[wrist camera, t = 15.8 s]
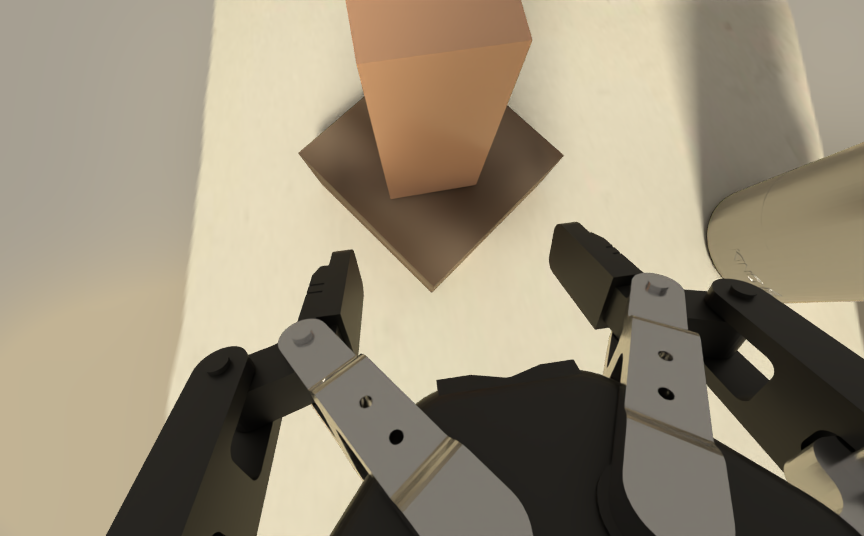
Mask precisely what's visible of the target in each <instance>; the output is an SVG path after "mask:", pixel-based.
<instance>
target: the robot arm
mask: <svg viewBox="0 0 864 536" xmlns="http://www.w3.org/2000/svg"><path fill="white" fill-rule="evenodd" d="M707 239H708V248H709V251H710V255H711V258H712V260H713V262H714V264H715V266H716V268H717V270H718V271H719V273H720V274H721V275H722V277H723V278H724V279H718V280H716V281H714V282H713V283H712V285H711V287H710V288H709V290H708V291H695V290H684V289H683V288H682V286H681V285H680V284H678V283H677V282H676V281H674V280H672V279H670V278H668V277H666V276H663V275H659V274H654V273H643V272H642V271H641V270H640V269H639V268H637V267H636V266H635V265H634V264H633V263H632V262H631V261H629V260H628V259H627V258H626V257H625V256H624V255H623V254H620V252H619V251H618V250H617V249H616V248H615V247H613V246H612V245H611V244H610V243H609V242H608V241H607V240H605V239H604V238H602V237H600V236H598V235H596V234H594V233H592V232H589V231H588V230H586V229H585V228H584V227H583V226H582V225H581V224H580V223H578V222H571V223H563V224H557V225H556V227H555V229H554V234H553V239H552V245H551V250H550V255H549V264H550V268H551V270H552V272H553V274H554V275H555V276H556V278H557V279H558V280H559V282H560V283H561V284H562V286H563V287H564V288H565V290H566V291H567V292H568V294H569V295H570V296H571V298H572V299H573V301H574V302H575V303H576V305H577V306H578V307H579V309H580V310H581V311H582V313H583V314H584V315H585V317H586V318H587V319H588V321H589V322H590V324H591V325H592V326H593V328H594V329H602V328H610V329H611V333H610V336H609V340H608V346H607V352H606V358H605V365H604V371H603V375H600V374H596V373H593V372H588V371H583V370H579V368H578V366H577V365H576V363H575V361H574V360H566V361H560V362H553V363H546V364H540V365H538V366H535V367H533V368H531V369H528V370H526V371H524V372H521V373H519V374H517V375H515V376H512V377H508V378H503V377H491V376H478V375H467V376H460V377H454V378H447V379H441V380H436V381H437V390H438V391H436V392H434V393H432V394H430V395H428V396H426V397H425V398H423V399H422V400H420V401H419V402H418V403H416V404H415V403H414V402H412V401H411V400H410V399H409V398H408V397H407V396H406V395H405V394H404V393H403V392H402V391H401V390H400V389H399V388H398V387H397V386H396V385H395V384H394V383H393V382H392V381H391V380H390V379H389V378H388V377H387V376H386V375H385V374H384V373H383V372H382V371H381V370H380V369H379V368H378V367H377V366H376V365H375V364H374V363H373V362H372V361H371V360H370V359H369V358H368V357H367V356H365V355H364V354H360V355H359V356H358V352H359V341H360V330H361V319H362V308H363V297H364V292H363V284H362V279H361V276H360V272H359V268H358V264H357V260H356V257H355V253H354V251H353V250H344V251H336V252H333V253H332V256H331V260H330V264H329V265H328V266H321V267H320V268H319V269H318V270H317V271H316V272H315V273H314V274H313V275H312V278H311V281H310V284H309V286H310V287H308V291H307V295H306V297H305V300H304V303H303V306H302V309H301V312H300V315H299V318H298V322H296V323H294V324H293V325H291V326H289V327H288V328H287V329H286V330H285V331H284V332H283V333H282V334H281V336H280V338H279V341H278V343H277V344H275V345H273V346H271V347H268V348H266V349H263V350H260V351H258V352H255V353H252V354H250V355H248V354H247V352H246V351H245V349H243V348H241V347H237V346H231V347H226V348H222V349H220V350H217V351H215V352H213V353H211V354H210V355H208V356H207V357H205V358H204V359H203V360H202V361H201V362H200V363H199V364H198V365H197V366H196V367H195V368H194V370H193V372H192V373H191V375H190V377H189V379H188V381H187V383H186V385H185V387H184V389H183V391H182V392H181V394H180V396H179V398H178V400H177V402H176V404H175V406H174V408H173V409H172V411H171V413H170V415H169V417H168V419H167V421H166V423H165V425H164V426H163V428H162V430H161V432H160V434H159V436H158V438H157V440H156V442H155V444H154V446H153V447H152V449H151V451H150V453H149V455H148V457H147V459H146V461H145V462H144V464H143V467H142V468H141V470H140V472H139V474H138V476H137V478H136V480H135V481H134V483H133V485H132V487H131V489H130V491H129V493H128V495H127V497H126V498H125V500H124V502H123V504H122V506H121V508H120V510H119V512H118V514H117V516H116V517H115V519H114V521H113V523H112V525H111V527H110V529H109V531H108V533H107V534H106V536H257V531H258V526H259V522H260V517H261V513H262V508H263V504H264V499H265V494H266V490H267V485H268V481H269V476H270V471H271V467H272V462H273V458H274V453H275V449H276V444H277V439H278V435H279V430H280V426H281V421H282V417H284V416H286V415H288V414H290V413H293V412H295V411H297V410H299V409H301V408H304V407H306V406H308V405H310V404H311V406H312V407H313V409H314V410H315V411H316V413H317V414H318V416H319V417H320V419H321V420H322V422H323V423H324V424H325V426H326V427H327V429H328V430H329V432H330V433H331V434H332V436H333V437H334V439H335V440H336V442H337V443H338V445H339V446H340V448H341V449H342V451H343V452H344V454H345V456H346V457H347V459H348V460H349V462H350V464H351V465H352V467H353V468H354V470H355V471H356V472H357V474H358V475H359V477H360V478H361V480H362V481H363V483H362V485H361V486H360V488H359V489H358V491H357V493H356V494H355V496H354V497H353V499H352V501H351V502H350V504H349V505H348V507H347V509H346V510H345V512H344V513H343V515H342V517H341V518H340V520H339V521H338V523H337V525H336V526H335V528H334V529H333V531H332V533H331V534H330V536H864V359H863V358H861V357H860V356H859V355H857V354H856V353H854V352H853V351H851V350H850V349H848V348H847V347H846V346H844V345H843V344H841V343H840V342H838V341H837V340H835V339H834V338H833V337H831V336H830V335H828V334H827V333H825V332H824V331H822V330H821V329H819V328H818V327H817V326H815V325H814V324H812V323H811V322H809V321H808V320H806V319H805V318H804V317H802V316H801V315H799V314H798V313H796V312H795V311H793V310H792V309H791V308H789V307H788V306H786V305H785V304H783V303H811V302H842V301H843V302H850V301H864V142H862V143H860V144H858V145H855V146H853V147H850V148H848V149H845V150H842V151H840V152H837V153H835V154H832V155H830V156H827V157H824V158H822V159H819V160H817V161H814V162H812V163H809V164H807V165H804V166H802V167H799V168H796V169H793V170H791V171H788V172H786V173H783V174H781V175H778V176H776V177H773V178H771V179H768V180H766V181H763V182H761V183H758V184H756V185H753V186H751V187H748V188H746V189H743V190H741V191H738V192H736V193H734V194H732V195H730V196H728V197H726V198H725V199H724V200H723V201H722V202H720V203H719V205H718V206H717V207H716V209H715V210H714V211H713V213H712V216H711V218H710V221H709V225H708V232H707ZM746 339H747V340H748V341H749V342H750V343H751V344H752V345H753V346H755V347H756V348H757V349H758V350H759V351H760V352H762V353H763V354H764V355H765V356H766V357H767V358H768V359H769V360H770V361H771V363H772V364H773V367H774V376H773V377H772V378H771V379H770V380H768V379H767V378H766V377H765V376H764V375H763V374H762V373H761V372H760V371H759V370H758V369H757V368H755V367H754V366H753V365H752V364H751V363H750V362H749V361H748V360H747V359H746V358H745V357H744V356H743V355H742V354H740V353H739V352H738V351H737V350H738V349H739V347H740V346H741V345H742V344H743V342H744V341H745V340H746ZM706 384H707V386H708V387H709V388H710V389H711V390H712V391H713V392H714V394H715V395H716V396H717V397H718V398H719V399H720V400H721V402H722V403H723V404H724V405H725V406H726V407H727V408H728V409H729V411H730V412H731V413H732V414H733V415H734V416H735V417H736V419H737V420H738V421H739V422H740V423H741V424H742V425H743V427H744V428H745V429H746V430H747V431H748V432H749V433H750V435H751V436H752V437H753V438H754V439H755V440H756V441H757V443H758V444H759V445H760V446H761V447H762V448H763V449H764V451H765V452H766V453H767V454H768V455H769V456H770V457H771V459H772V460H773V461H774V462H775V463H776V464H777V465H778V467H779V468H780V469H781V470H782V471H783V472H784V475H785V478H786V480H787V481H785V480H784V479H782V478H780V477H779V476H777V475H775V474H773V473H772V472H770V471H768V470H767V469H765V468H763V467H762V466H760V465H758V464H757V463H755V462H753V461H751V460H750V459H748V458H746V457H745V456H743V455H741V454H740V453H738V452H736V451H734V450H733V449H731V448H729V447H728V446H726V445H724V444H723V443H721V442H719V441H718V440H716V439H714V438H713V434H712V426H711V418H710V410H709V402H708V394H707V386H706Z"/></svg>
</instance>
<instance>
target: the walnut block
mask: <svg viewBox="0 0 864 536" xmlns="http://www.w3.org/2000/svg"><path fill="white" fill-rule="evenodd" d="M299 155H300V156H301V157H302V159H303V160H304V161H305V163H306V164H307V165H308V167H309V168H310V169H311V171H312V172H313V173H314V175H315V176H316V177H317V178H318V180H319V181H320V182H321V184H322V185H323V186H324V187H325V188H326V189H327V190H328V191H329V192H330V193H331V194H332V195H333V196H334V197H335V198H336V199H337V200H338V201H339V202H340V203H341V204H342V205H343V206H344V207H346V208H347V209H348V210H349V211H350V212H351V213H352V214H353V215H354V216H355V217H356V218H357V219H358V220H359V221H360V222H361V223H362V224H363V225H364V226H365V227H366V228H367V229H368V230H369V231H370V232H371V233H372V234H373V235H374V236H375V237H376V238H377V239H378V240H379V241H380V242H381V243H382V244H383V245H384V246H385V247H386V248H387V249H388V250H389V251H390V252H391V253H392V254H393V255H394V256H395V257H396V258H397V259H398V260H399V261H400V262H401V263H402V264H403V265H404V266H405V267H406V268H407V269H408V270H409V271H410V272H411V273H412V274H413V275H414V276H415V277H416V278H417V279H418V280H419V281H420V282H421V283H422V284H423V285H424V286H425V287H426V288H427V289H428V290H429V291H430V292H431V293H432V292H433V291H434V290H435V289H436V288H437V287H438V286H439V285H440V284H441V283H442V282H443V281H444V280H445V279H446V278H447V277H448V276H449V275H450V274H451V273H452V272H453V271H454V270H455V269H456V268H457V267H458V266H459V265H460V264H461V263H462V262H463V261H464V260H465V259H466V258H467V256H468V255H469V254H470V253H471V252H472V251H473V250H474V249H475V248H476V247H477V246H478V245H479V244H480V243H481V242H482V241H483V240H484V239H485V238H486V237H487V236H488V235H489V234H490V233H491V232H492V231H493V230H494V229H495V228H496V227H497V226H498V225H499V224H500V223H501V222H502V221H503V220H504V219H505V218H506V217H507V216H508V215H509V214H510V213H511V212H512V211H513V210H514V209H515V208H516V207H517V206H518V205H519V204H520V203H521V202H522V201H523V200H524V199H525V198H526V197H527V196H528V195H529V194H530V193H531V192H532V191H533V190H534V189H535V188H536V187H537V186H538V184H539V183H540V182H541V181H542V180H543V179H544V178H545V176H546V175H547V174H548V173H549V172H550V171H551V170H552V168H553V167H554V166H555V165H556V164H557V163H558V162H559V160H560V159H561V158H562V157H563V156H564V155H563V154H562V153H560V152H559V151H558V150H557V149H556V148H555V147H554V146H552V145H551V144H550V143H549V142H548V141H547V140H546V139H545V138H543V137H542V136H541V135H540V134H539V133H538V132H537V131H536V130H534V129H533V128H532V127H531V126H530V125H529V124H528V123H526V122H525V121H524V120H523V119H522V118H521V117H520V116H519V115H517V114H516V113H515V112H514V111H513V110H512V109H511V108H510V107H508V106H506V109H505V112H504V114H503V117H502V119H501V122H500V124H499V127H498V130H497V132H496V135H495V137H494V140H493V142H492V145H491V147H490V150H489V153H488V155H487V158H486V160H485V163H484V165H483V168H482V171H481V173H480V176H479V178H478V181H477V183H476V185H473V186H467V187H461V188H455V189H449V190H443V191H437V192H431V193H425V194H419V195H413V196H407V197H401V198H395V199H390V195H389V191H388V187H387V183H386V179H385V175H384V171H383V167H382V163H381V159H380V155H379V151H378V147H377V143H376V139H375V135H374V131H373V127H372V123H371V119H370V116H369V112H368V108H367V104H366V100H365V96H364V97H363V98H362V99H361V100H360V101H359V102H357V103H356V104H355V105H354V106H353V107H352V108H350V109H349V110H348V111H347V112H346V113H345V114H343V115H342V116H341V117H340V118H339V119H338V120H336V121H335V122H334V123H333V124H332V125H331V126H329V127H328V128H327V129H326V130H325V131H324V132H322V133H321V134H320V135H319V136H318V137H317V138H315V139H314V140H313V141H312V142H311V143H310V144H308V145H307V146H306V147H305V148H304V149H303V150H301V151H300V152H299Z"/></svg>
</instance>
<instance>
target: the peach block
mask: <svg viewBox="0 0 864 536" xmlns="http://www.w3.org/2000/svg"><path fill="white" fill-rule="evenodd" d="M346 5H347V11H348V17H349V23H350V29H351V35H352V40H353V46H354V52H355V58H356V64H357V68H358V72H359V76H360V80H361V84H362V88H363V92H364V96H365V100H366V104H367V108H368V112H369V116H370V119H371V123H372V127H373V131H374V135H375V139H376V143H377V147H378V151H379V155H380V159H381V163H382V167H383V171H384V175H385V179H386V183H387V187H388V191H389V195H390V199H395V198H401V197H407V196H413V195H419V194H425V193H431V192H437V191H443V190H449V189H455V188H461V187H467V186H473V185H476V183H477V181H478V178H479V176H480V173H481V171H482V168H483V165H484V163H485V160H486V158H487V155H488V153H489V150H490V147H491V145H492V142H493V140H494V137H495V135H496V132H497V130H498V127H499V124H500V122H501V119H502V117H503V114H504V112H505V109H506V106H507V104H508V101H509V99H510V96H511V94H512V91H513V89H514V86H515V83H516V81H517V78H518V76H519V73H520V71H521V68H522V66H523V63H524V60H525V58H526V55H527V53H528V50H529V48H530V45H531V42H532V37H531V34H530V30H529V27H528V23H527V20H526V16H525V13H524V9H523V6H522V2H521V0H346Z"/></svg>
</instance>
